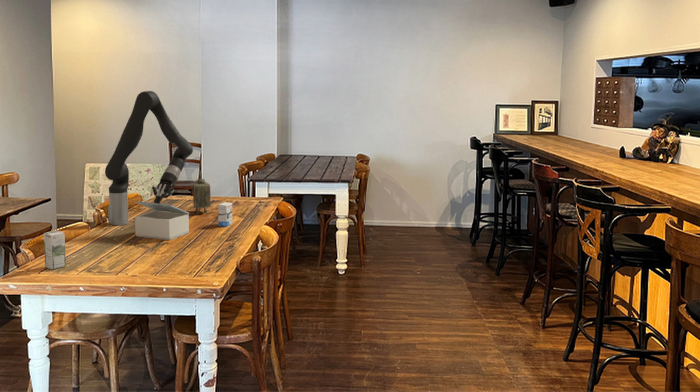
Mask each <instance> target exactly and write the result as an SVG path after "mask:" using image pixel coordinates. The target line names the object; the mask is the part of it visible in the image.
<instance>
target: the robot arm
mask: <svg viewBox="0 0 700 392" xmlns="http://www.w3.org/2000/svg"><path fill="white" fill-rule="evenodd" d="M150 111H151V113H152V114H153V115H154V117H155V119H156V120H157V123H158V125H159V127H160V130H161V133H162V134H163V135H164V137H165V138H166V139H167V140H166V141H168V143H170V145H175V146H176V147H177V148H175V150H174V152H173V154H172V157H171V159H170V162H169V163H168V165H167V167H166V168H165V170H164V171H163V173H162V176H161V177H160V178H159V179H160V180H159V182H158V184H157V185H156V186H154V185H153V186H152V187H151V189H152V192H153V193H152V194H153V195H154V197H155V198H154V200H153V203H157V204H161V202H162V201H163V199H168V197H170V196H171V195H173V194H174V193H176V190H175V189H174V187H175V185H176V183H177V182H178V179H179V178H180V175H181V172H182V171H183V169H184V166H185V161H186V160H187V159H188V158H189V157H190V156H191V155H192V154H193V152H194V149H193V146H192V144H191V143H190V142H189V141H188V140H187V139H186V138H185V137H184V136H183V135H182V134H181V133H180V132H179V130H178V128H177V127H176V125H174V123H173V121H172V120H171V119H170V117H169V115H168V113H167V112H166V109H165V107H164V105H163V103H162V101H161V100H160V98H159V96H158V94H157V93H156V92H155V91H153V90H147V91H146V90H145V91H141V92H140V93H138V94H137V96H136V99H135V102H134V105H133V107H132V111H131V114H130V116H129V118H128V120H127V122H126V124H125V127H124V128H123V131H122V133H121V135H120V138H119V141H118V143H117V145H116V147H115V150H114V152H113V154H112V155H111V157H110V159H109V161H108V162H107V165H106V166H105V168H104V173H105V177H106V178H107V179H108V180H109V181H112V182H111V184H110V185H109V186H108V201H109V205H108V206H107V212H108V213H107V214H108V216H107V217H108V224H109V225H113V226H124V225H128V224H129V199H128V188H129V181H130V177H129V176H130V175H129V174H130V173H129V167H128V165H127V164H126V160H127V159H128V158H129V156H130V155H131V154H132V153H133V151H135V150H136V148H137V147H138V145H139V143H140V141H141V139H142V136H143V132H144V123H145V121H146V117H147V115H148V113H149V112H150Z"/></svg>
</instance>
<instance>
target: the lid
mask: <svg viewBox="0 0 700 392" xmlns="http://www.w3.org/2000/svg"><path fill="white" fill-rule="evenodd" d="M135 204H138V205H141V206H144V207H145V208H148V209H151V210H153V211H163V212H173V213H182V214H189V215H190V212H188V211H186V210H184V209H181V208H179V207H178V206H174V205H172V204H166V203H160V204H157V203H154V202H147V201H137V200H136V201H135Z"/></svg>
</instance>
